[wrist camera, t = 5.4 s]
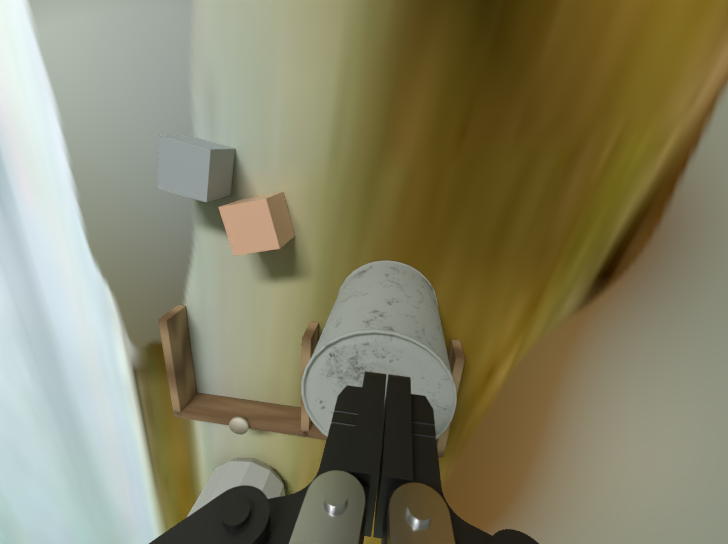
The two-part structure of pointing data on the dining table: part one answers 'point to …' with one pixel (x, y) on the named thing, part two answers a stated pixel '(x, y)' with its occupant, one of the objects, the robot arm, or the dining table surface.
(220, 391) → the dining table surface
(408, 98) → the dining table surface
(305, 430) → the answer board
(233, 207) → the block terracotta
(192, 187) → the block slate
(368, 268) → the speckled white canister
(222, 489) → the jar
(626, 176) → the dining table surface
